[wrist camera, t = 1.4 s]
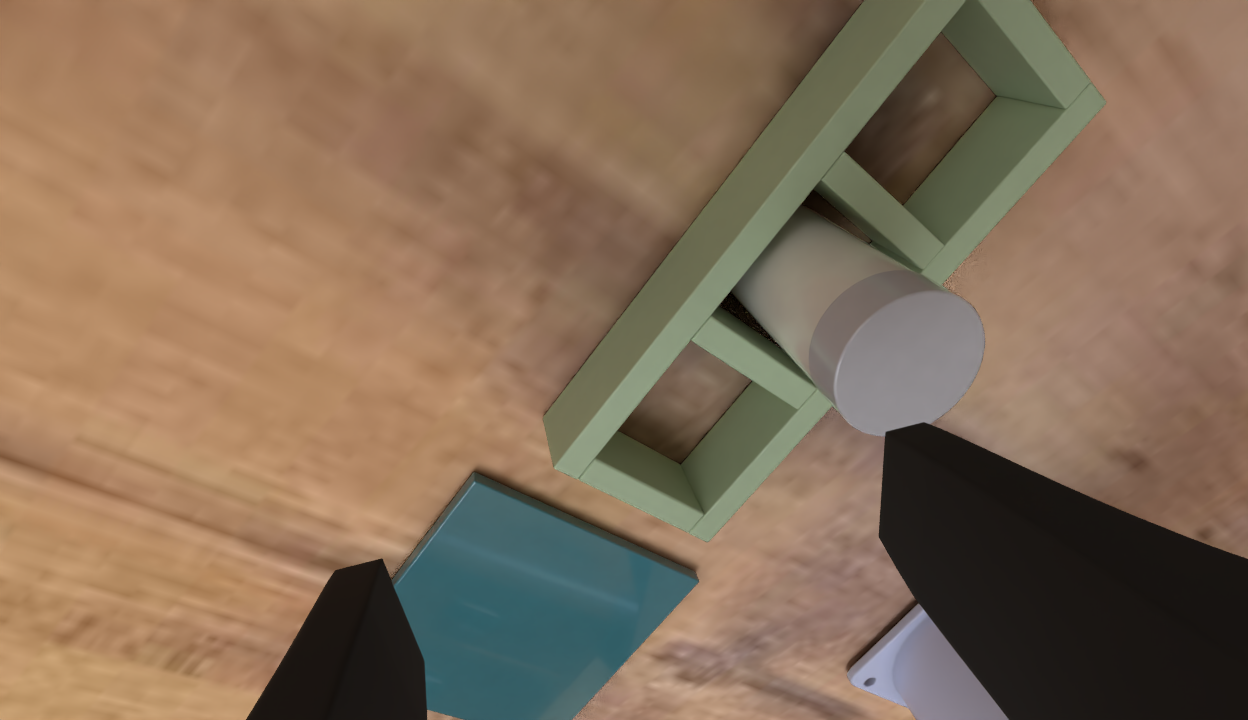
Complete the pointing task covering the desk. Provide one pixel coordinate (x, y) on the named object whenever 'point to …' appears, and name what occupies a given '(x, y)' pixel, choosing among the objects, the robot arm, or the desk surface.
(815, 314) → the shaker
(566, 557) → the coaster
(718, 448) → the spice rack
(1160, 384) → the desk surface
